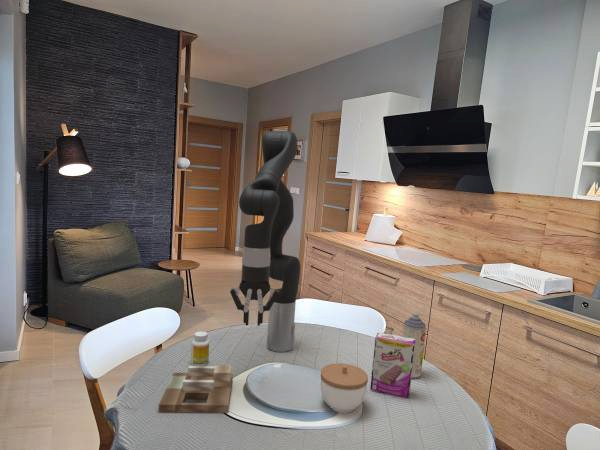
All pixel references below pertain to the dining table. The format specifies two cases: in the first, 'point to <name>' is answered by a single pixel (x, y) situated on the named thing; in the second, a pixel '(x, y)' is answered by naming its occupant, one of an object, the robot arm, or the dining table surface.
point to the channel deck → (195, 392)
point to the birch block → (222, 376)
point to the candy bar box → (392, 364)
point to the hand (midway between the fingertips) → (252, 324)
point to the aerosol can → (416, 331)
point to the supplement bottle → (200, 349)
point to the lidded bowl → (343, 386)
